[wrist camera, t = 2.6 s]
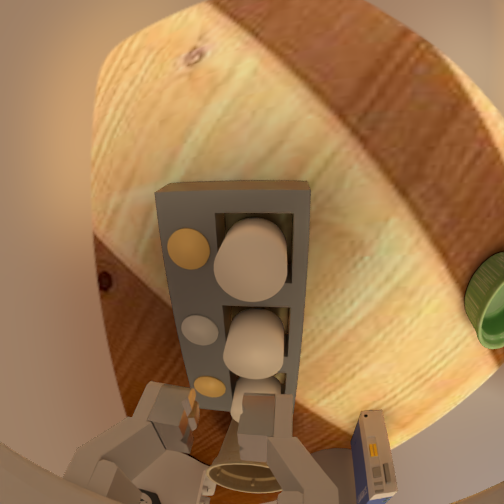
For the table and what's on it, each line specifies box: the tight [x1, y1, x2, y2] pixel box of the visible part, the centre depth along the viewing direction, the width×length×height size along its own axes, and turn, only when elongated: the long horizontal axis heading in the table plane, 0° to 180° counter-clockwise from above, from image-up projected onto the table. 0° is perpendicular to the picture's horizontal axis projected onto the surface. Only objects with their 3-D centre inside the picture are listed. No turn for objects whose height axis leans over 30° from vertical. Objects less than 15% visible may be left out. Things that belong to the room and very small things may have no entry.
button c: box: [214, 217, 287, 302], centre depth 19 cm, size 4×4×3 cm
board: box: [155, 180, 311, 413], centre depth 24 cm, size 22×10×3 cm, turn 2°
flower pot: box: [206, 418, 282, 493], centre depth 29 cm, size 9×9×9 cm
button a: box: [231, 376, 281, 423], centre depth 24 cm, size 4×4×3 cm
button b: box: [223, 308, 284, 379], centre depth 22 cm, size 4×4×3 cm
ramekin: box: [465, 252, 504, 349], centre depth 20 cm, size 9×9×4 cm
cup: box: [310, 448, 357, 504], centre depth 32 cm, size 8×8×10 cm
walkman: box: [351, 410, 398, 504], centre depth 26 cm, size 8×3×12 cm, turn 4°
